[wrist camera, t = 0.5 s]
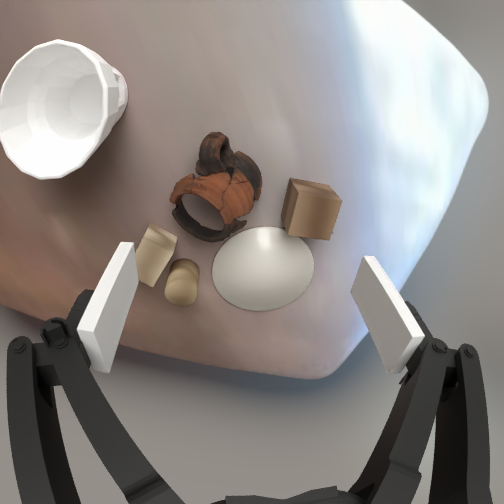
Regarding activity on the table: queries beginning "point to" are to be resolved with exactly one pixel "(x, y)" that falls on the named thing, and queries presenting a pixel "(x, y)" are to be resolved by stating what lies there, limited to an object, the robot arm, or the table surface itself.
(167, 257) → the maple block
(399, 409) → the robot arm
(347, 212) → the table surface
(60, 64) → the cup
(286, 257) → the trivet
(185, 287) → the oak dowel offcut
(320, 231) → the walnut block
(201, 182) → the pottery mug
